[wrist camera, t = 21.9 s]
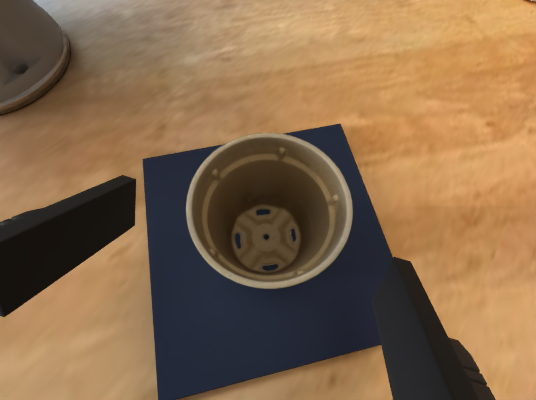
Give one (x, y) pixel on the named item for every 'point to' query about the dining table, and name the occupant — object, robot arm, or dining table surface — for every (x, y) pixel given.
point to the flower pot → (277, 202)
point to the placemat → (250, 298)
